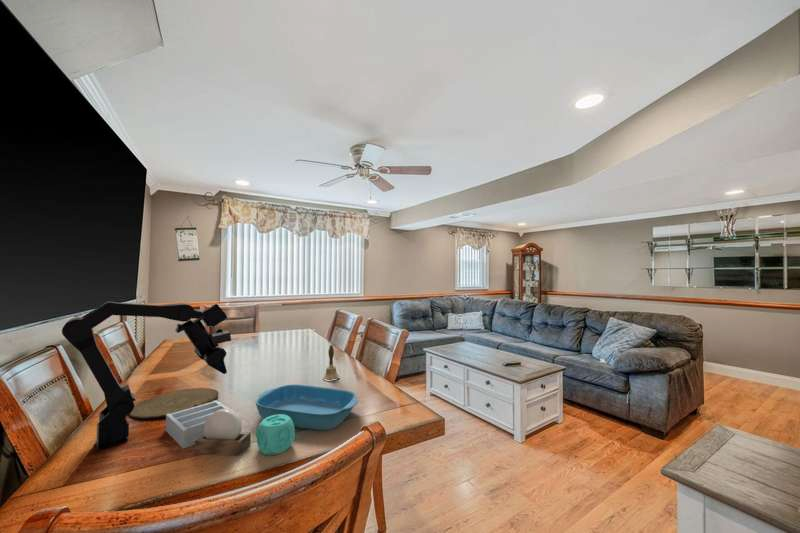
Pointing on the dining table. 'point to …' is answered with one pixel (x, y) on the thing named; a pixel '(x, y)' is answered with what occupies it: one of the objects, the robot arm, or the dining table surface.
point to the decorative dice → (275, 434)
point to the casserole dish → (307, 405)
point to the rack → (190, 423)
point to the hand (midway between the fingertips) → (221, 370)
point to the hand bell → (331, 366)
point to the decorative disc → (173, 402)
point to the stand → (223, 445)
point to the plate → (223, 425)
